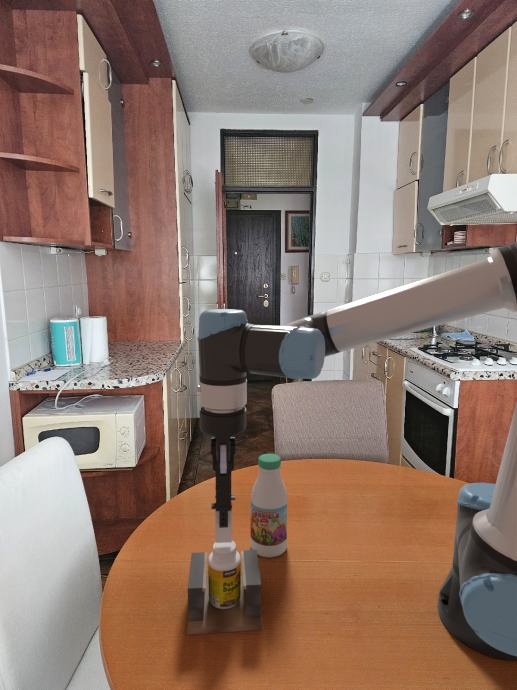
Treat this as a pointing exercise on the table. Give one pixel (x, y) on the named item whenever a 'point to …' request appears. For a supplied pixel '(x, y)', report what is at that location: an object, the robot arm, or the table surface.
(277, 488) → the milk bottle
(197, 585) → the clamp block
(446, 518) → the table surface
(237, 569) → the supplement bottle
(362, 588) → the table surface
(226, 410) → the robot arm
